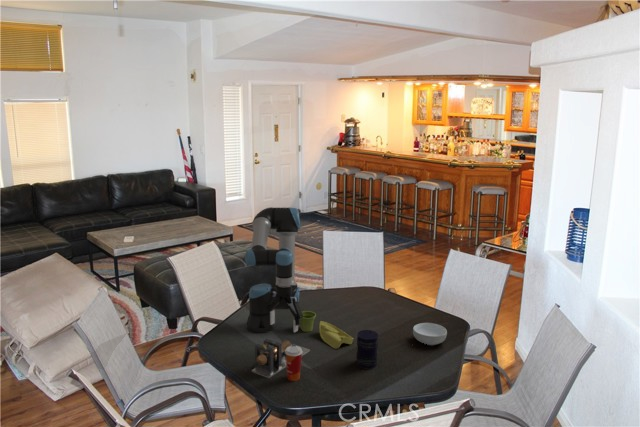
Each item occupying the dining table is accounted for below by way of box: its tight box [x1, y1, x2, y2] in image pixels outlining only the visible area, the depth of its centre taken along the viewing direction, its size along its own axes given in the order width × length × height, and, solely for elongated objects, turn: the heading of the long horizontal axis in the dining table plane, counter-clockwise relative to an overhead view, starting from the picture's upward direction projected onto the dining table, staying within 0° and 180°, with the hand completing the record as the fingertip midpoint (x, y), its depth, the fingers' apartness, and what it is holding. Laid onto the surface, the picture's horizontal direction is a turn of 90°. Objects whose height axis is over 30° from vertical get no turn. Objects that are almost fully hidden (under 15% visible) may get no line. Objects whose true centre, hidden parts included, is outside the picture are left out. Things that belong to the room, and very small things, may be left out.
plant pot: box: [299, 310, 317, 333], centre depth 294 cm, size 9×9×9 cm
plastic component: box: [318, 320, 354, 349], centre depth 283 cm, size 20×7×10 cm
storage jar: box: [356, 329, 379, 370], centre depth 258 cm, size 10×10×15 cm
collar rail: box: [251, 338, 311, 379], centre depth 259 cm, size 32×10×13 cm, turn 146°
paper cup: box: [285, 345, 303, 382], centre depth 244 cm, size 8×8×14 cm
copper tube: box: [256, 339, 292, 366], centre depth 254 cm, size 20×5×5 cm, turn 146°
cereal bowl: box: [412, 322, 448, 346], centre depth 283 cm, size 17×17×7 cm
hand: (283, 327), depth 258 cm, fingers open, 13 cm apart
